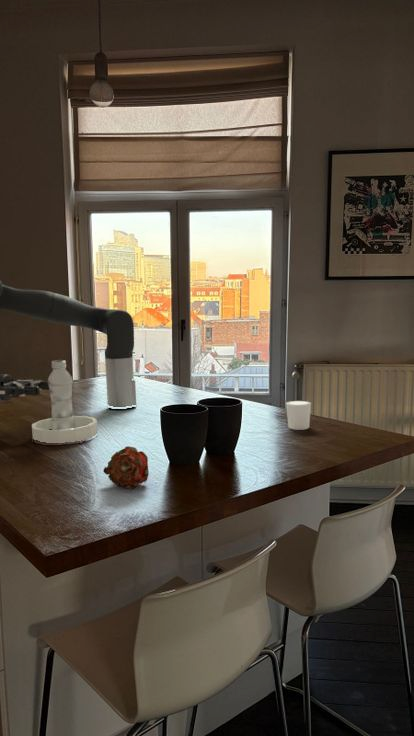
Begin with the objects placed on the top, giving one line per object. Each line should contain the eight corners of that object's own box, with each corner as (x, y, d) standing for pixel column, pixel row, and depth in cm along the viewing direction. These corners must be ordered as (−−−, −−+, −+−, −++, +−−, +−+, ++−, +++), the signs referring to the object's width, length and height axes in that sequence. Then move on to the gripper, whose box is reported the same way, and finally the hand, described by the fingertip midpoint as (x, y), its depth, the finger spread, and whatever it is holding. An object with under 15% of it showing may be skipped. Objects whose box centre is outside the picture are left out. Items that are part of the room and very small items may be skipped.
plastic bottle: (46, 435, 151) (40, 362, 148) (63, 429, 157) (58, 358, 154) (64, 437, 148) (58, 363, 145) (81, 431, 154) (76, 359, 151)
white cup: (311, 430, 151) (310, 405, 150) (285, 430, 153) (285, 405, 152) (311, 424, 158) (311, 400, 157) (287, 424, 159) (286, 400, 159)
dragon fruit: (133, 504, 106) (120, 493, 118) (165, 473, 109) (150, 464, 120) (103, 472, 105) (93, 463, 116) (137, 441, 107) (124, 435, 118)
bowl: (93, 427, 163) (92, 413, 162) (101, 441, 147) (100, 426, 146) (32, 433, 158) (31, 419, 157) (33, 448, 142) (32, 433, 141)
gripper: (-24, 378, 147) (32, 378, 144) (5, 370, 161) (57, 370, 158) (-22, 406, 148) (34, 407, 145) (7, 396, 162) (59, 396, 159)
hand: (46, 388), depth 151 cm, fingers open, 8 cm apart
